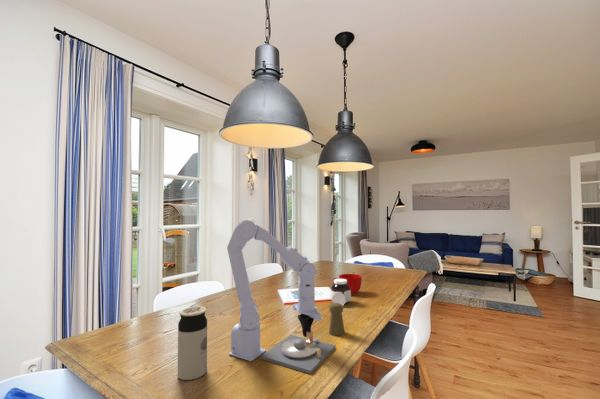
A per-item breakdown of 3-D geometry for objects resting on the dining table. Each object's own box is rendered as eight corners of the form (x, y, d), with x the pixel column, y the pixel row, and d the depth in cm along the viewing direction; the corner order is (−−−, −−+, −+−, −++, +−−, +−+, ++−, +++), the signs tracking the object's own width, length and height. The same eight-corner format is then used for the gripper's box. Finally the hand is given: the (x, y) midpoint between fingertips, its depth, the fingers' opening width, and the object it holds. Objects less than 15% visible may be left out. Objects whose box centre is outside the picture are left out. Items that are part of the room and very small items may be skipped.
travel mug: (171, 378, 79) (172, 313, 80) (191, 364, 87) (191, 304, 88) (193, 383, 76) (194, 316, 77) (212, 368, 84) (212, 307, 85)
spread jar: (346, 299, 151) (345, 277, 152) (356, 306, 140) (356, 282, 141) (325, 302, 147) (325, 279, 148) (334, 308, 136) (334, 284, 137)
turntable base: (260, 359, 89) (260, 346, 89) (290, 337, 105) (290, 327, 105) (310, 374, 80) (310, 360, 80) (335, 348, 96) (335, 336, 96)
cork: (334, 328, 112) (333, 300, 113) (347, 332, 109) (346, 303, 109) (325, 333, 108) (325, 304, 108) (339, 337, 104) (338, 307, 105)
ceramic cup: (332, 290, 170) (332, 273, 171) (361, 290, 168) (360, 274, 169) (332, 296, 158) (331, 278, 158) (362, 297, 155) (362, 278, 156)
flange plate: (273, 350, 92) (273, 336, 93) (305, 335, 103) (305, 323, 103) (299, 363, 84) (299, 348, 84) (330, 346, 94) (330, 332, 95)
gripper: (328, 299, 94) (329, 340, 93) (304, 289, 106) (304, 326, 105) (311, 302, 90) (311, 346, 89) (288, 292, 102) (288, 330, 101)
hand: (306, 335), depth 97 cm, fingers closed, pressing on flange plate
